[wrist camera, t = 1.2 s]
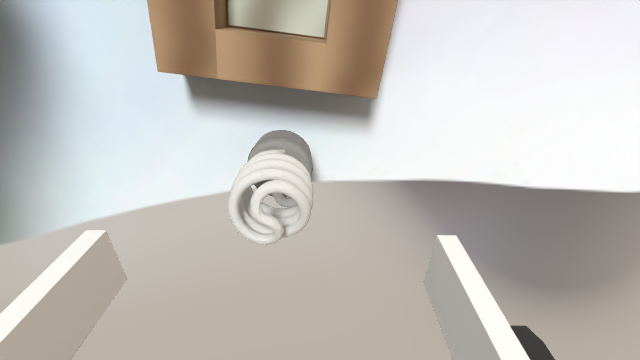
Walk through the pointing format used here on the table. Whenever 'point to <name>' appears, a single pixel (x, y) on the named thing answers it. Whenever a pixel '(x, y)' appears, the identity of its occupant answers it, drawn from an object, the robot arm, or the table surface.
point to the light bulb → (273, 188)
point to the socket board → (276, 41)
